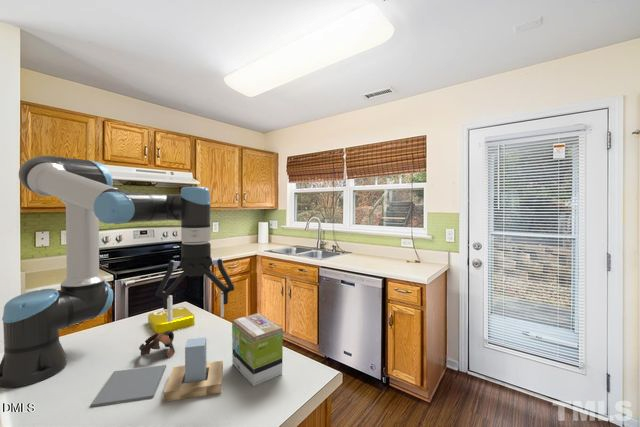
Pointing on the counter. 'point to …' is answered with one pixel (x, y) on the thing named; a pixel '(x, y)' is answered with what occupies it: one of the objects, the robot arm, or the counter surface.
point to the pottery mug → (154, 343)
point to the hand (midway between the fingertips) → (196, 318)
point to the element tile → (179, 321)
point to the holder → (194, 383)
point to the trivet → (130, 385)
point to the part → (195, 360)
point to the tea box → (257, 348)
